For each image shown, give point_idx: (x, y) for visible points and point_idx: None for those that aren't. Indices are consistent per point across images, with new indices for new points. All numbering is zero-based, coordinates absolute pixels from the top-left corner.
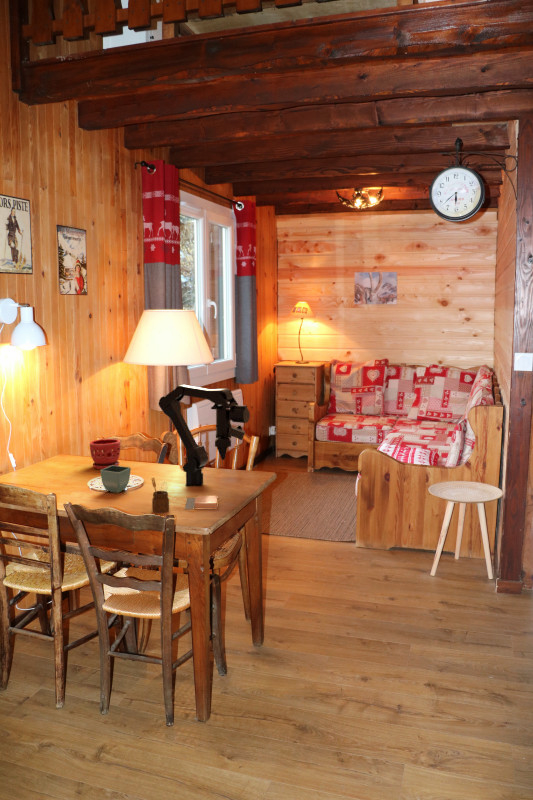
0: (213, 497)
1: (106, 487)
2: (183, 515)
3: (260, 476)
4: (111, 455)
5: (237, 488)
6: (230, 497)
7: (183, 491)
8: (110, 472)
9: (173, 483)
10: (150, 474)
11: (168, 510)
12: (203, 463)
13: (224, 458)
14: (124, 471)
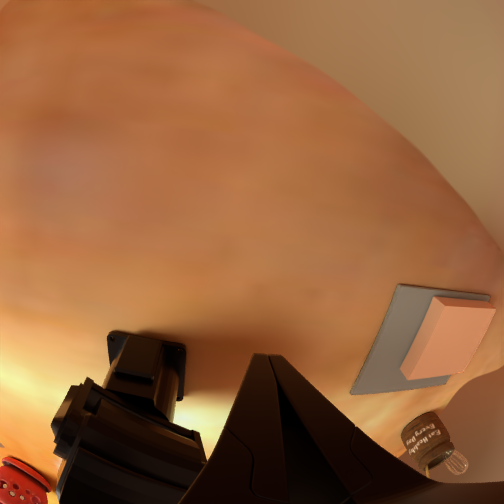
0: (453, 320)
1: None
2: (467, 377)
3: (43, 17)
4: (32, 497)
5: (246, 153)
6: (399, 228)
7: None
8: None
9: None
10: (44, 436)
11: (433, 414)
12: (158, 434)
13: (290, 367)
14: None
